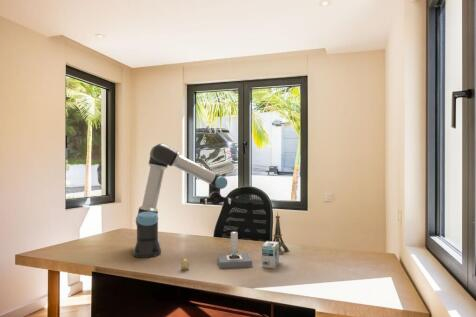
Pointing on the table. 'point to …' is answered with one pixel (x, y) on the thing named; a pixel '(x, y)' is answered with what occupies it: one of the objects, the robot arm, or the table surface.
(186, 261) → the brass pin
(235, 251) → the steel pin
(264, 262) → the light bulb box
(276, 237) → the eiffel tower
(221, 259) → the flat grey box
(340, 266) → the table surface
